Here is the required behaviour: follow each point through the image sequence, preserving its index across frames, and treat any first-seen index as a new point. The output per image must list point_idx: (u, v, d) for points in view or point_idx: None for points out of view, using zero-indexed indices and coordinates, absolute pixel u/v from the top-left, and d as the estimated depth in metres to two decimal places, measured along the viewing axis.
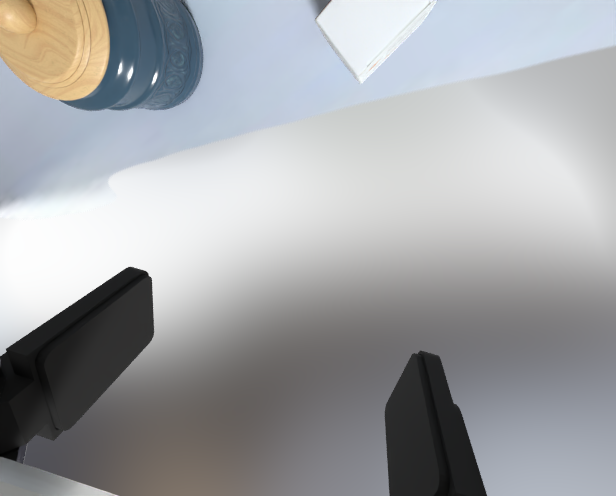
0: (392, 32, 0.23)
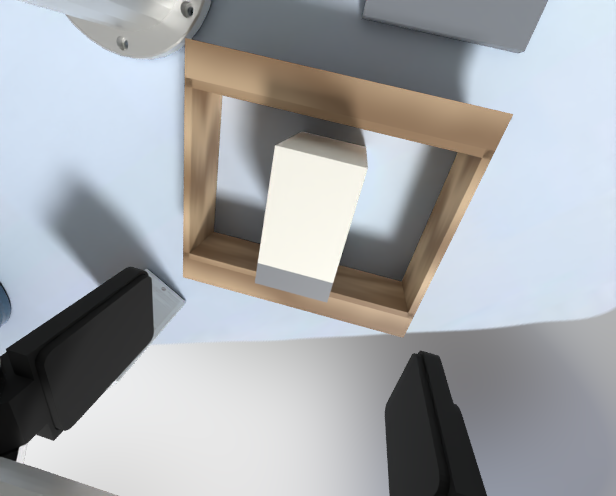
0: None
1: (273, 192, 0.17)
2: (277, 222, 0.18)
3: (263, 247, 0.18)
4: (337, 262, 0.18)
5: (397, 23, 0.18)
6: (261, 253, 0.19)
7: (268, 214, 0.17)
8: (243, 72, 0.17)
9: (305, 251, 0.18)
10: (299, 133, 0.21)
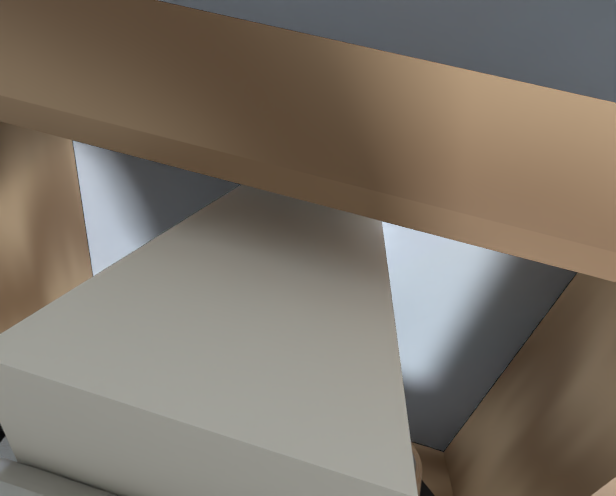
0: None
1: None
2: None
3: None
4: None
5: None
6: None
7: None
8: None
9: None
10: (225, 196, 0.09)
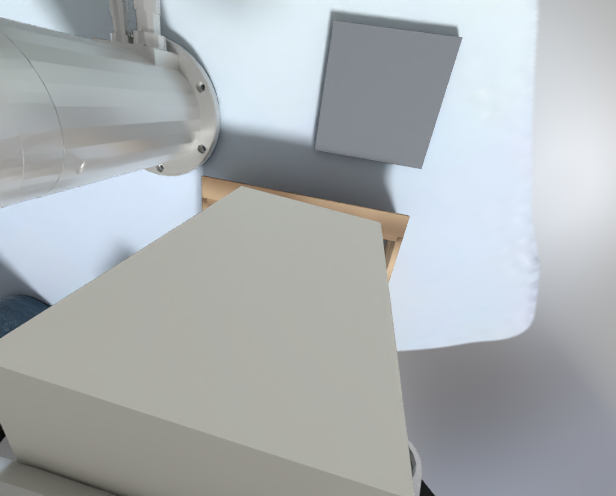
0: None
1: None
2: None
3: None
4: None
5: (337, 153, 0.28)
6: None
7: None
8: None
9: None
10: (225, 198, 0.09)
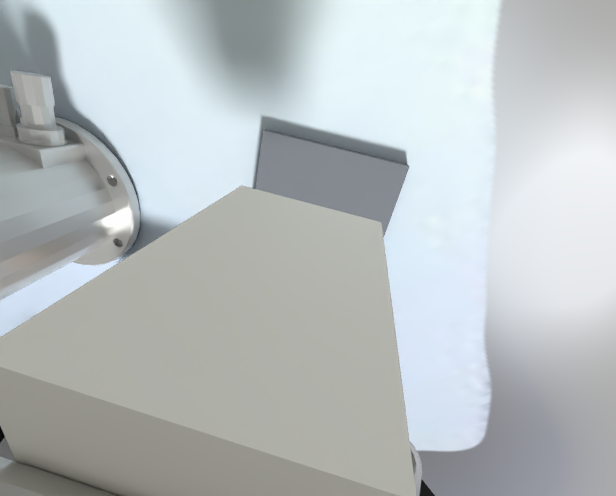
0: None
1: None
2: None
3: None
4: None
5: None
6: None
7: None
8: None
9: None
10: (225, 197, 0.09)
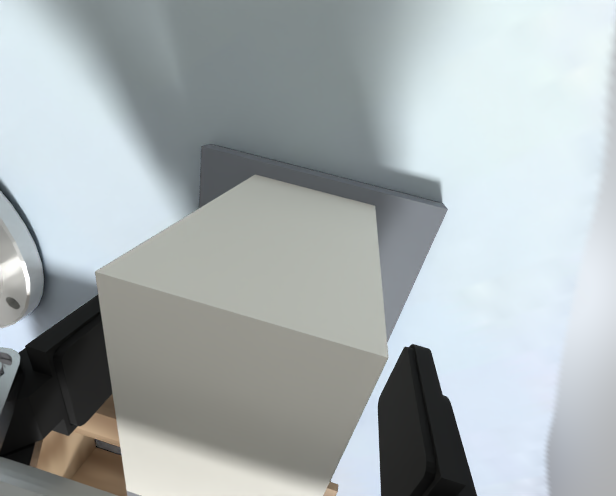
0: None
1: (123, 377, 0.06)
2: (150, 436, 0.07)
3: (131, 469, 0.08)
4: None
5: None
6: (129, 477, 0.08)
7: (124, 418, 0.07)
8: None
9: (227, 492, 0.07)
10: (243, 183, 0.11)
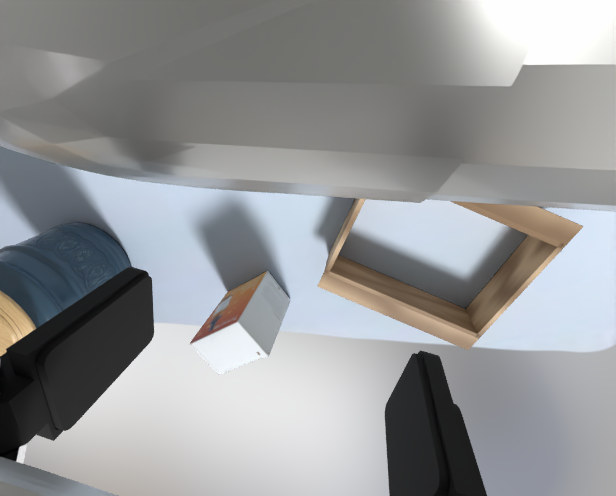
0: (239, 363, 0.34)
1: None
2: None
3: None
4: None
5: None
6: None
7: None
8: None
9: None
10: None
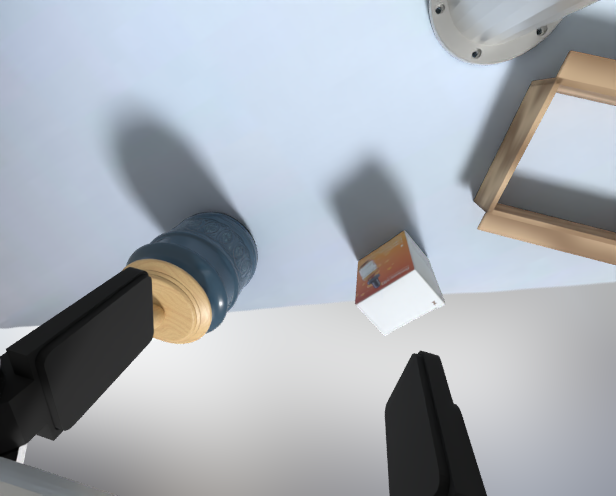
0: (409, 318, 0.33)
1: None
2: None
3: None
4: None
5: None
6: None
7: None
8: (608, 73, 0.25)
9: None
10: None
